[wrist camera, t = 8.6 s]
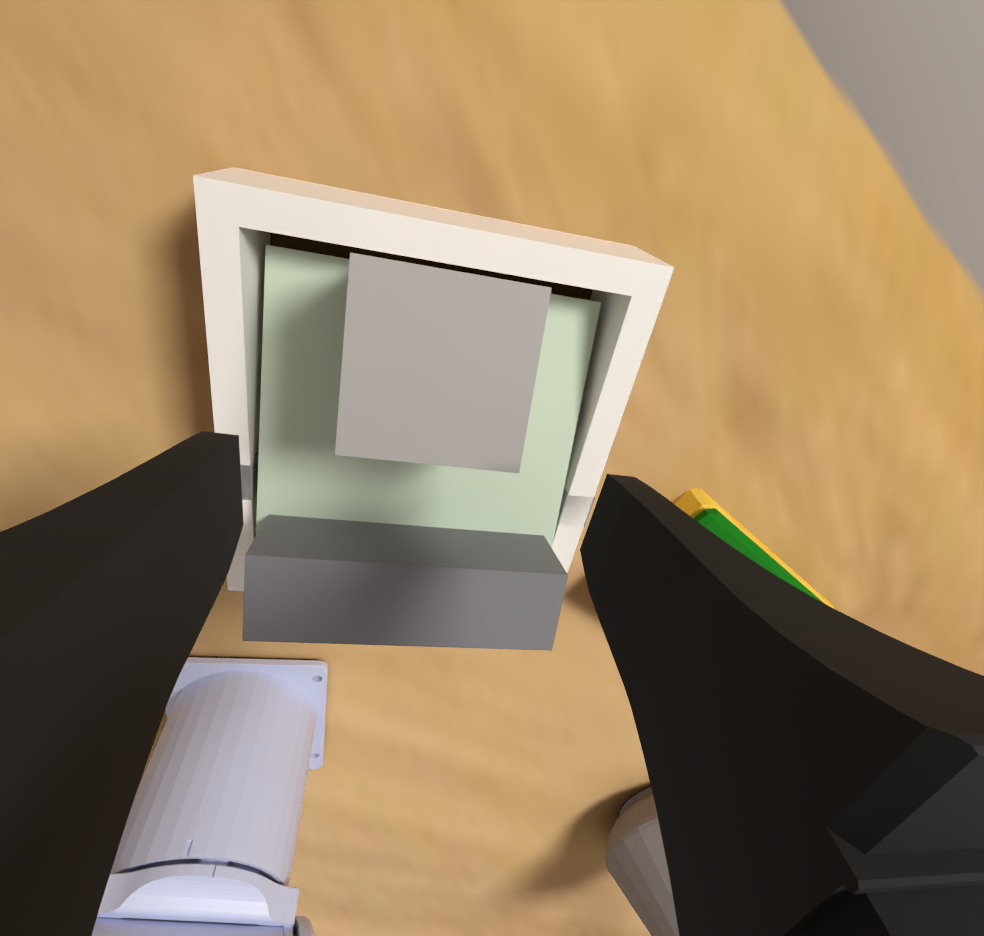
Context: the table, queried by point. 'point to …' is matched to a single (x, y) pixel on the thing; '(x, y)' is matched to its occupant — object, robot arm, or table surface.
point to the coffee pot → (642, 864)
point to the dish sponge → (740, 538)
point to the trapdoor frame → (424, 235)
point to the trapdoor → (399, 496)
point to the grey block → (438, 365)
